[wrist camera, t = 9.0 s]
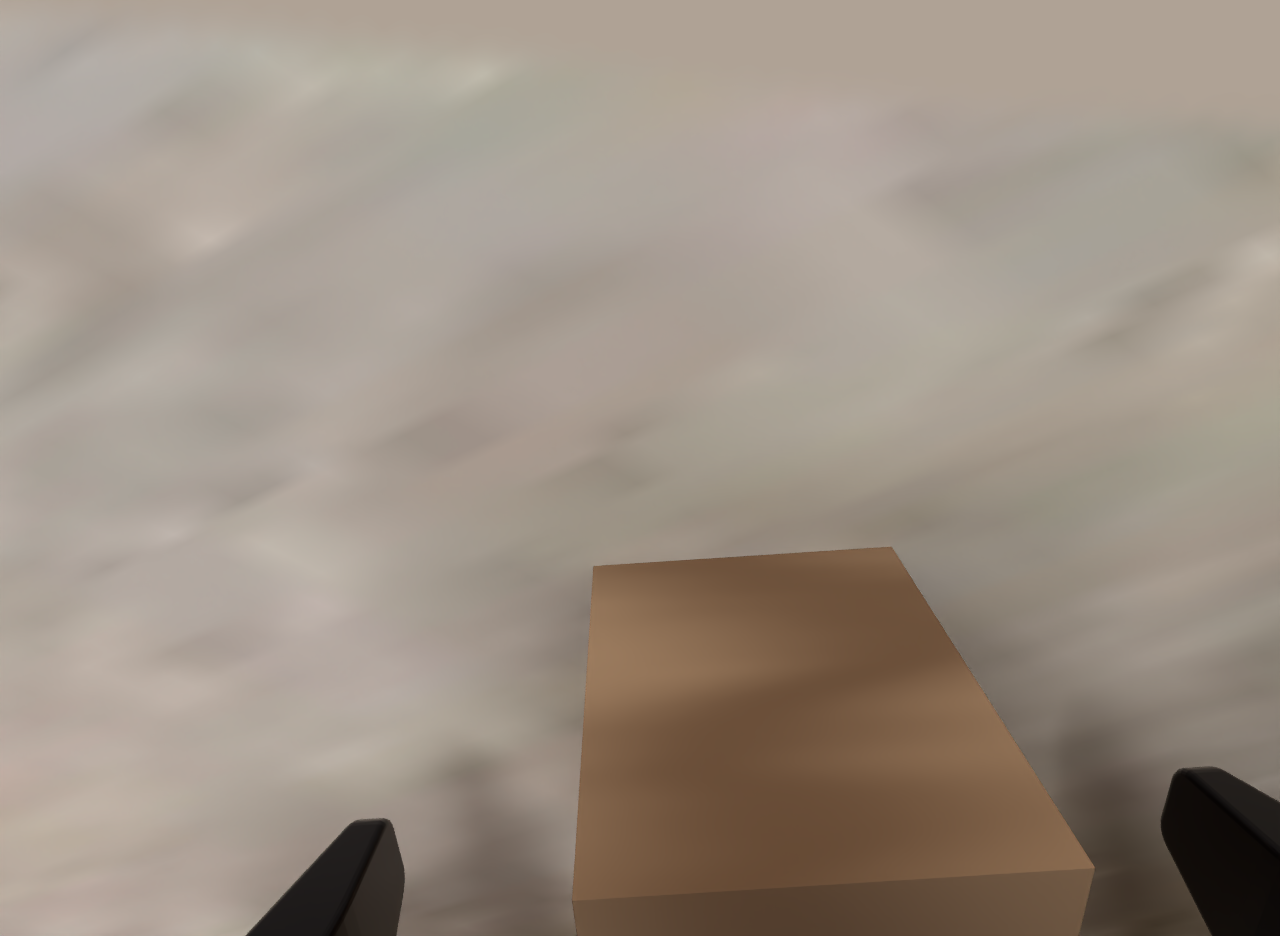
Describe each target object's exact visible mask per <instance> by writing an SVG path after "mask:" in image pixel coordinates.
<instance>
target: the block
mask: <svg viewBox="0 0 1280 936" xmlns="http://www.w3.org/2000/svg"><path fill="white" fill-rule="evenodd" d="M1094 871H1095V867H1094V865H1093V864H1092V862H1091V861H1090V859H1089V858H1088V856H1087V854H1086V853H1085V851H1084V850H1083V848H1082V847H1081V845H1080V843H1079V842H1078V840H1077V839H1076V837H1075V835H1074V834H1073V832H1072V831H1071V829H1070V828H1069V826H1068V824H1067V823H1066V821H1065V820H1064V818H1063V817H1062V815H1061V813H1060V812H1059V810H1058V809H1057V807H1056V805H1055V804H1054V802H1053V801H1052V799H1051V798H1050V796H1049V794H1048V793H1047V791H1046V790H1045V788H1044V787H1043V785H1042V783H1041V782H1040V780H1039V779H1038V777H1037V776H1036V774H1035V772H1034V771H1033V769H1032V768H1031V766H1030V764H1029V763H1028V761H1027V760H1026V758H1025V757H1024V755H1023V753H1022V752H1021V750H1020V749H1019V747H1018V746H1017V744H1016V742H1015V741H1014V739H1013V738H1012V736H1011V735H1010V733H1009V731H1008V730H1007V728H1006V727H1005V725H1004V723H1003V722H1002V720H1001V719H1000V717H999V716H998V714H997V712H996V711H995V709H994V708H993V706H992V705H991V703H990V701H989V700H988V698H987V697H986V695H985V693H984V692H983V690H982V689H981V687H980V686H979V684H978V682H977V681H976V679H975V678H974V676H973V675H972V673H971V671H970V670H969V668H968V667H967V665H966V664H965V662H964V660H963V659H962V657H961V656H960V654H959V652H958V651H957V649H956V648H955V646H954V645H953V643H952V641H951V640H950V638H949V637H948V635H947V634H946V632H945V630H944V629H943V627H942V626H941V624H940V623H939V621H938V619H937V618H936V616H935V615H934V613H933V611H932V610H931V608H930V607H929V605H928V604H927V602H926V600H925V599H924V597H923V596H922V594H921V593H920V591H919V589H918V588H917V586H916V585H915V583H914V582H913V580H912V578H911V577H910V575H909V574H908V572H907V570H906V569H905V567H904V566H903V564H902V563H901V561H900V559H899V558H898V556H897V555H896V553H895V552H894V550H893V548H892V547H881V548H865V549H850V550H835V551H819V552H804V553H789V554H773V555H758V556H743V557H727V558H712V559H696V560H681V561H666V562H650V563H635V564H620V565H604V566H594V567H593V582H592V598H591V614H590V629H589V645H588V661H587V676H586V692H585V708H584V723H583V739H582V755H581V770H580V786H579V802H578V817H577V833H576V849H575V864H574V880H573V896H572V903H573V910H574V917H575V924H576V932H577V936H1079V933H1080V929H1081V925H1082V921H1083V917H1084V912H1085V908H1086V904H1087V900H1088V896H1089V892H1090V888H1091V883H1092V879H1093V875H1094Z"/></svg>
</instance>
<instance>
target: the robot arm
mask: <svg viewBox="0 0 1280 936" xmlns="http://www.w3.org/2000/svg"><path fill="white" fill-rule="evenodd" d="M1161 831H1162V835H1163V838H1164V841H1165V844H1166V846H1167V848H1168V850H1169V852H1170V854H1171V856H1172V858H1173V860H1174V862H1175V864H1176V866H1177V868H1178V870H1179V872H1180V874H1181V876H1182V878H1183V880H1184V882H1185V884H1186V886H1187V887H1188V889H1189V891H1190V893H1191V895H1192V897H1193V899H1194V901H1195V903H1196V905H1197V907H1198V909H1199V911H1200V913H1201V915H1202V917H1203V919H1204V921H1205V923H1206V925H1207V927H1208V929H1209V931H1210V933H1211V935H1212V936H1280V802H1278V801H1277V800H1275V799H1273V798H1271V797H1270V796H1268V795H1266V794H1264V793H1263V792H1261V791H1259V790H1257V789H1256V788H1254V787H1252V786H1250V785H1249V784H1247V783H1245V782H1243V781H1242V780H1240V779H1238V778H1236V777H1235V776H1233V775H1231V774H1229V773H1228V772H1226V771H1224V770H1222V769H1219V768H1217V767H1193V768H1182V769H1179V770H1178V771H1177V772H1176V773H1175V774H1174V775H1173V777H1172V780H1171V784H1170V788H1169V791H1168V795H1167V798H1166V802H1165V806H1164V809H1163V813H1162V816H1161ZM404 883H405V873H404V866H403V862H402V858H401V854H400V851H399V847H398V843H397V839H396V835H395V831H394V828H393V825H392V823H391V822H390V820H388V819H385V818H379V819H363V820H356V821H354V822H352V823H351V824H349V825H348V826H347V827H346V828H345V829H344V831H343V832H342V833H341V834H340V835H339V836H338V837H337V838H336V839H335V840H334V841H333V842H332V843H331V844H330V846H329V847H328V848H327V849H326V850H325V851H324V852H323V853H322V854H321V855H320V856H319V857H318V858H317V859H316V861H315V862H314V863H313V864H312V865H311V866H310V867H309V868H308V869H307V870H306V871H305V872H304V873H303V875H302V876H301V877H300V878H299V879H298V880H297V881H296V882H295V883H294V884H293V885H292V886H291V887H290V888H289V890H288V891H287V892H286V893H285V894H284V895H283V896H282V897H281V898H280V899H279V900H278V901H277V902H276V904H275V905H274V906H273V907H272V908H271V909H270V910H269V911H268V912H267V913H266V914H265V915H264V916H263V917H262V919H261V920H260V921H259V922H258V923H257V924H256V925H255V926H254V927H253V928H252V929H251V930H250V931H249V932H248V934H247V935H246V936H396V935H397V929H398V923H399V917H400V911H401V905H402V898H403V892H404Z"/></svg>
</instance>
